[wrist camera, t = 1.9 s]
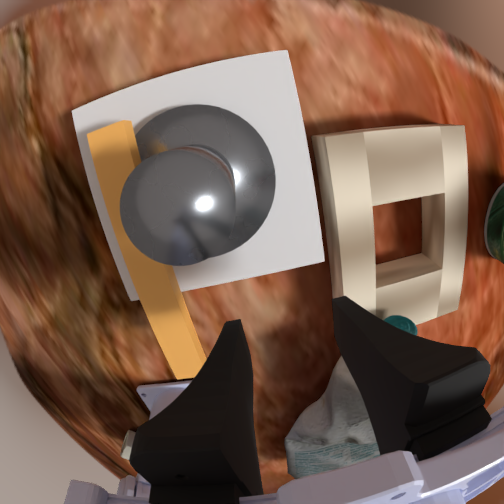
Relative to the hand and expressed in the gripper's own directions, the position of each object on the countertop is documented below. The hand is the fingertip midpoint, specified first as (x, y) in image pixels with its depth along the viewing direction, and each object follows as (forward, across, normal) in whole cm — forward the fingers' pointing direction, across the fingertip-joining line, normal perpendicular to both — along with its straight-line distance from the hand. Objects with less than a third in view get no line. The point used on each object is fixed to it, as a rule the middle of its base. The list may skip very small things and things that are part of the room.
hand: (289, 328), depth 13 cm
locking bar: (+4, +6, -2) cm, 8 cm away
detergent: (+8, -5, +17) cm, 19 cm away
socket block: (+8, +3, -6) cm, 11 cm away
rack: (+8, -9, 0) cm, 12 cm away
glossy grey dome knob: (+8, +3, -6) cm, 11 cm away
